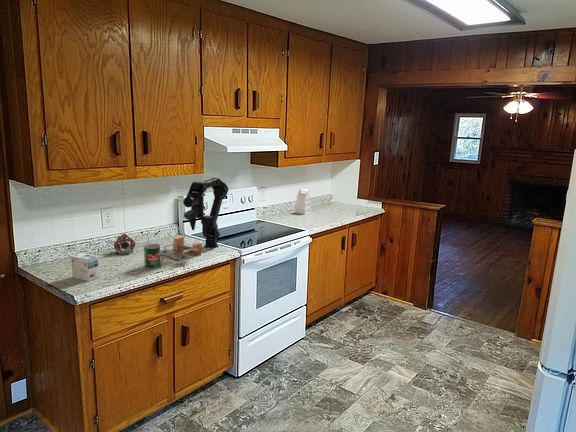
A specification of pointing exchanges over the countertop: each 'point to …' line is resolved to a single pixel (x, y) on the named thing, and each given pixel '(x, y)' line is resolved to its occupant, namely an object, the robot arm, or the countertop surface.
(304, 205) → the grater
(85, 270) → the light bulb box
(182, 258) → the flange plate
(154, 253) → the canned tomato
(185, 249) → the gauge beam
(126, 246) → the maroon piece
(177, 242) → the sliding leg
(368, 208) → the countertop surface
